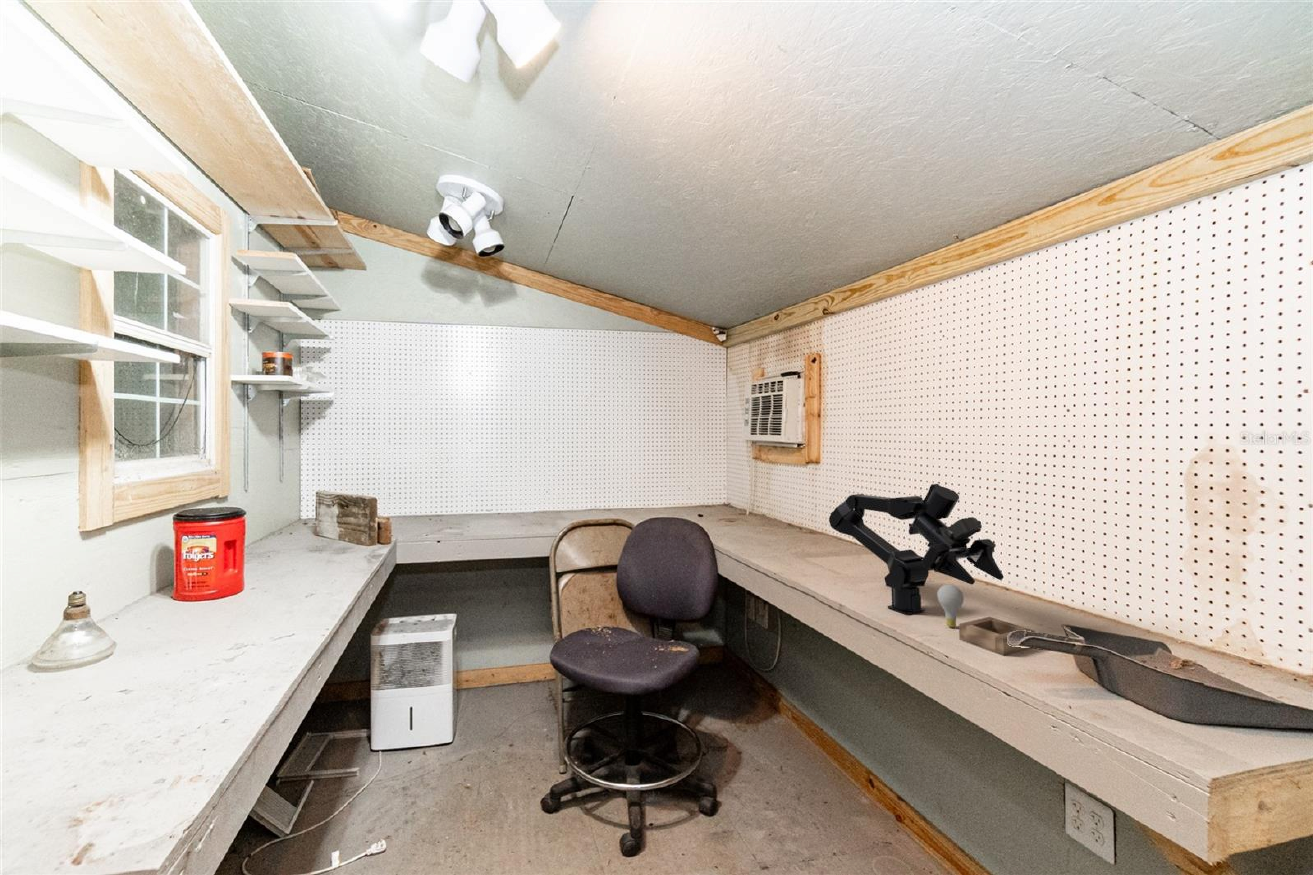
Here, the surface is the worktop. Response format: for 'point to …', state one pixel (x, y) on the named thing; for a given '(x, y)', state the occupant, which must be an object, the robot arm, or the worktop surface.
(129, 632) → the worktop surface
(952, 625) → the light bulb
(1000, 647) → the socket block
